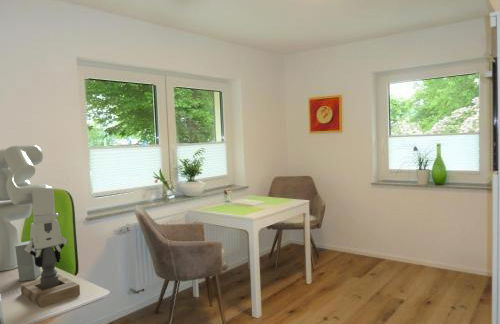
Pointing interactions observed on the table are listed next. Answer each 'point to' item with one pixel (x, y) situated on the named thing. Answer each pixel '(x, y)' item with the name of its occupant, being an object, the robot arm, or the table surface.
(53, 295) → the holder board
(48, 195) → the robot arm
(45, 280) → the candle holder
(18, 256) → the skincare box
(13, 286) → the table surface
